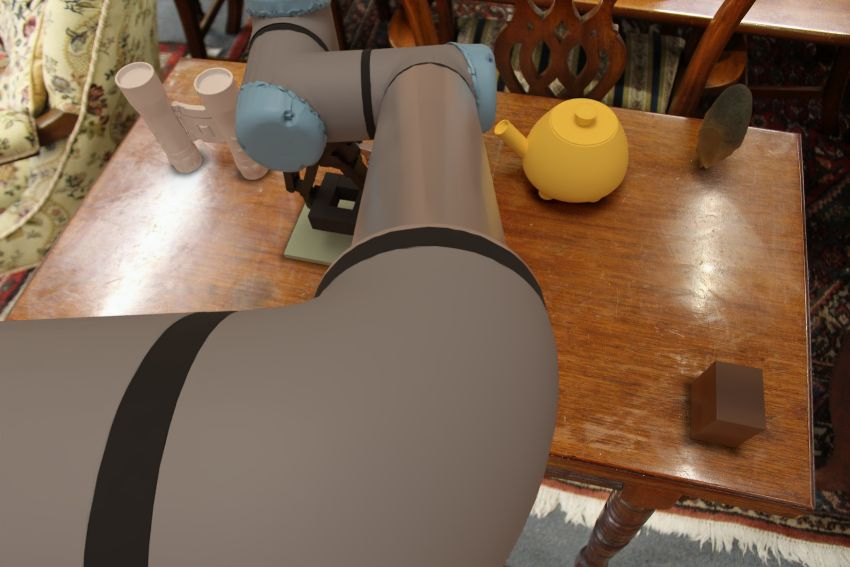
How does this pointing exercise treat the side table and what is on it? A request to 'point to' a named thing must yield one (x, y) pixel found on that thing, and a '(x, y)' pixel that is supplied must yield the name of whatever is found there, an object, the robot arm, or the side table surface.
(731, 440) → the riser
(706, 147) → the decorative stone
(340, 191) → the dark square frame
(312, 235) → the base mat
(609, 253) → the side table surface
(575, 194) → the teapot
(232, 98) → the binoculars
